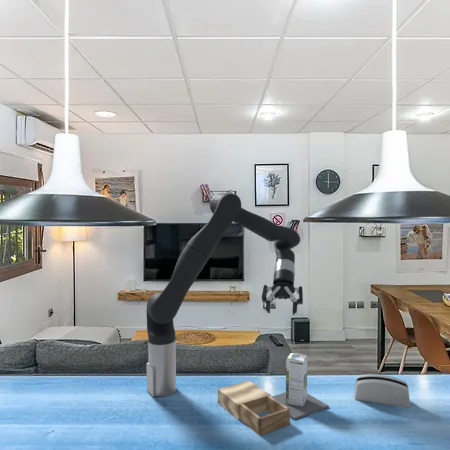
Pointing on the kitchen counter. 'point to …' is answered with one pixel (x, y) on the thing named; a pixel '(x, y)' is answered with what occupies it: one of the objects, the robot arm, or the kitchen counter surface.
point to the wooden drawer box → (254, 407)
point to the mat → (299, 411)
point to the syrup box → (296, 379)
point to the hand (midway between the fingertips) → (281, 312)
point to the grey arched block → (382, 390)
